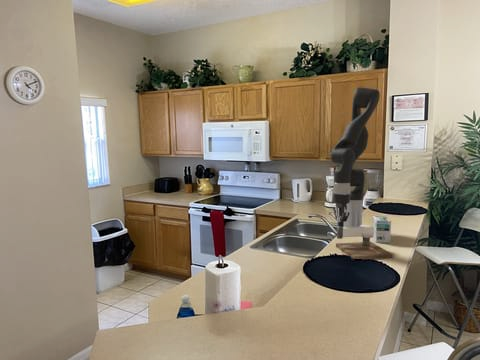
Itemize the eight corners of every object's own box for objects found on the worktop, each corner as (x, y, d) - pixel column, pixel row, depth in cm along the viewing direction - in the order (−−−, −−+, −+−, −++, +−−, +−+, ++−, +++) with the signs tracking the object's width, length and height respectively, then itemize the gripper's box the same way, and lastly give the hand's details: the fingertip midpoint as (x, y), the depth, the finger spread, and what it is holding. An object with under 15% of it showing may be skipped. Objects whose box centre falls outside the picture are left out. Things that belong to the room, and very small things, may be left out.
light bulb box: (390, 243, 163) (391, 221, 162) (375, 242, 165) (376, 220, 163) (385, 237, 174) (386, 216, 172) (371, 236, 175) (372, 215, 174)
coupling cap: (369, 234, 158) (369, 223, 158) (376, 238, 152) (376, 227, 152) (334, 236, 156) (334, 225, 155) (339, 239, 150) (340, 228, 149)
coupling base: (335, 246, 159) (336, 234, 158) (370, 244, 161) (371, 233, 160) (353, 259, 141) (354, 246, 140) (392, 257, 143) (393, 244, 143)
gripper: (328, 190, 163) (327, 226, 165) (339, 194, 150) (338, 233, 152) (343, 190, 164) (342, 226, 166) (356, 194, 151) (354, 233, 153)
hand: (340, 229), depth 159 cm, fingers closed
